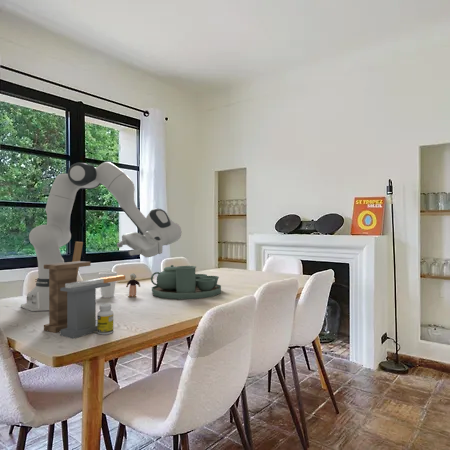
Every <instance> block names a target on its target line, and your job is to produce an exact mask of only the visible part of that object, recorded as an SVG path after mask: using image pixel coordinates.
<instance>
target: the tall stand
mask: <svg viewBox="0 0 450 450" xmlns="http://www.w3.org/2000/svg"><path fill="white" fill-rule="evenodd" d="M91 263H92V262H91V261H81V260H80V261H75V262H72V261H67V262H65V261H64V263H55V264H45V265H44V269H49V310H48V316H49V320H48V321H49V323H46V324H43V331H46V332H50V333H53V334H57V333H60V330H61V329H65V328H67V292H66V291H60V288H63V287H65V283H72V282H78V275H77V267H79V268H83V267H90V266H91Z"/></svg>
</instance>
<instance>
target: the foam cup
mask: <svg viewBox="0 0 450 450" xmlns="http://www.w3.org/2000/svg"><path fill="white" fill-rule="evenodd" d="M117 275H118V273H117V271H102V272H98V278H104V277H111V276H117ZM108 283H110V286H106V287H101V288H100V293H101V298H105V299H106V298H108V299H109V298H113V297H115V296H114V295H115V290H116V283H117V281H114V282H108Z"/></svg>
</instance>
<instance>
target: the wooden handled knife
mask: <svg viewBox="0 0 450 450" xmlns="http://www.w3.org/2000/svg"><path fill="white" fill-rule="evenodd" d="M124 280H126V274H125V275H123V274H119V275H118V274H117V276H111V277H104V278H99V277H98V278H93V279H85V280H79V281H78V280H77V282H72V283H65V288H68V289H73V288H79V287H84V286H90V285H96V284H102V283H108V282H114V281H116V282H118V281H124Z"/></svg>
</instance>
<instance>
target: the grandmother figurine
mask: <svg viewBox="0 0 450 450" xmlns="http://www.w3.org/2000/svg"><path fill="white" fill-rule="evenodd" d="M136 278H137V274H135V273H130V279H129V280H128V282H127V283H126V285H125V287H126V288H128V287H129V290H128V291H129V292H128V295H127V298H137V286H138V287H139V288H141V284H140V281H138V280H137V279H136Z"/></svg>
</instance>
